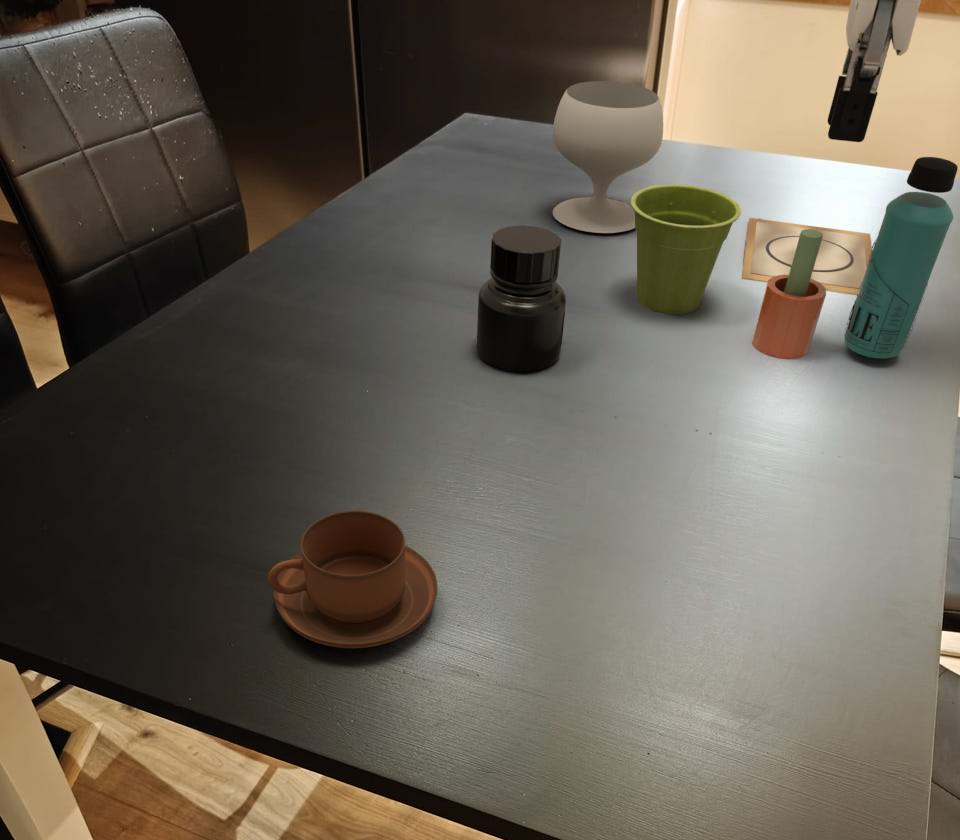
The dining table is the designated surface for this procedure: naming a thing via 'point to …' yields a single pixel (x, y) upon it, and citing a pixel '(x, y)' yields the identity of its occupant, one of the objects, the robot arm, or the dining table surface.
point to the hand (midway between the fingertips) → (845, 130)
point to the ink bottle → (522, 300)
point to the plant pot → (678, 243)
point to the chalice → (605, 147)
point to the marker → (803, 262)
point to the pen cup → (787, 319)
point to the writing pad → (834, 264)
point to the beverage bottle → (902, 262)
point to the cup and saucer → (354, 582)
